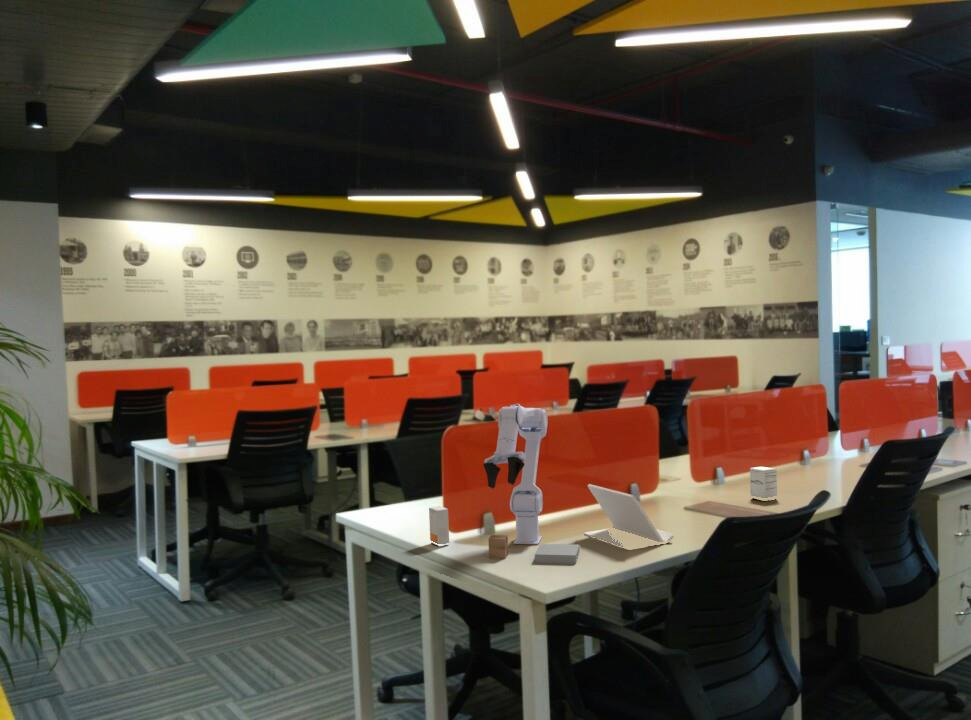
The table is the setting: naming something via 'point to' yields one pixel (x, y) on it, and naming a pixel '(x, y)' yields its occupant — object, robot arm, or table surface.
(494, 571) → the table surface
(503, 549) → the walnut block
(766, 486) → the supplement box
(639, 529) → the tablet stand
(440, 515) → the skincare box
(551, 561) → the slate block
